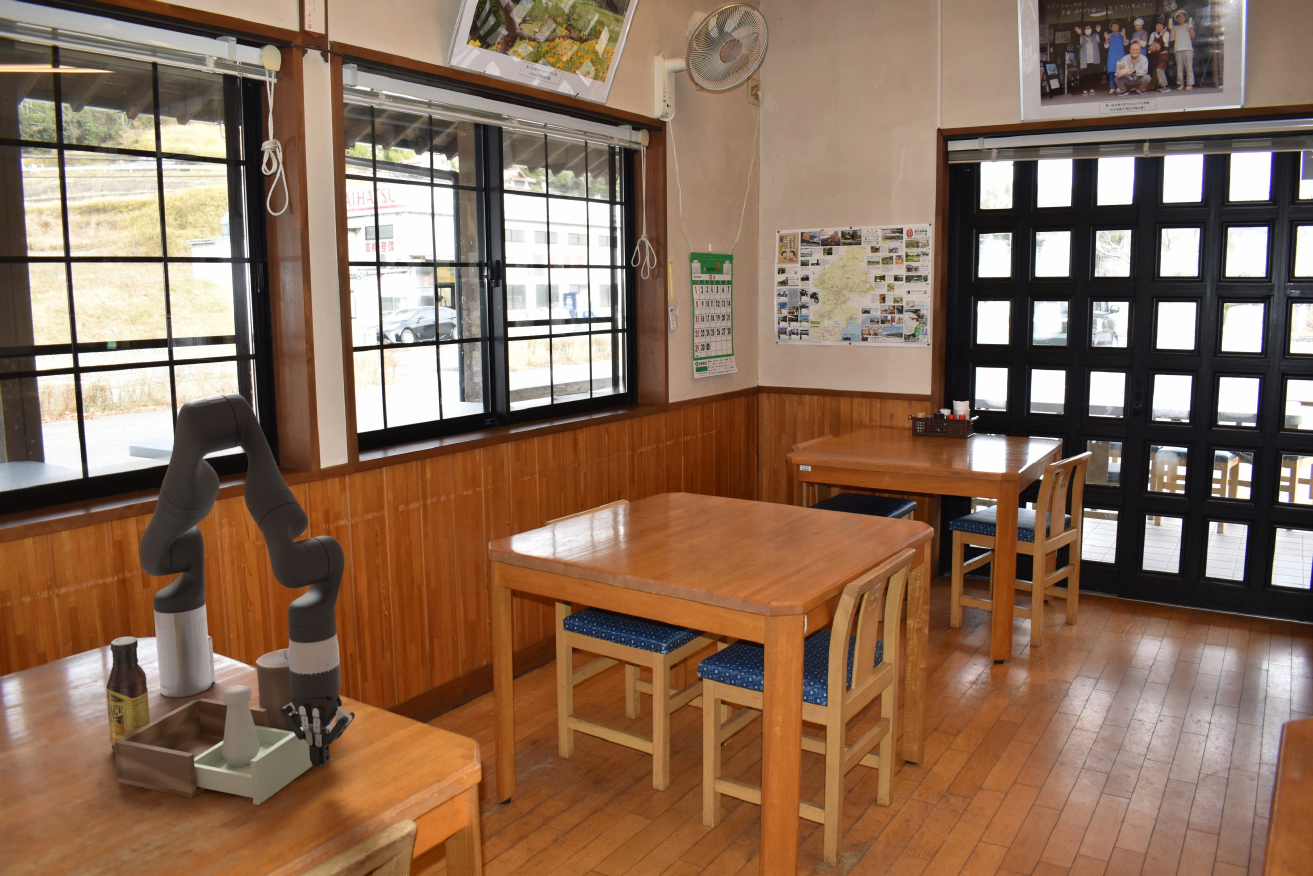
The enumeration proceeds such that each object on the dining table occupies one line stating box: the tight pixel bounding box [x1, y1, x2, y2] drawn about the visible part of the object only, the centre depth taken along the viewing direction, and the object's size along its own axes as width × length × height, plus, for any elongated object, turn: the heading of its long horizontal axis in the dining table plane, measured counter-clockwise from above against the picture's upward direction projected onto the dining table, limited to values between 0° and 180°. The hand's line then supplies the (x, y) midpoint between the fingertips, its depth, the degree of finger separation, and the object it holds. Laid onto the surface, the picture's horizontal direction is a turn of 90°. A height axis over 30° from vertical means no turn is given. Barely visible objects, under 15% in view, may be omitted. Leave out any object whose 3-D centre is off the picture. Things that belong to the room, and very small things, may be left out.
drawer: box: [194, 725, 313, 806], centre depth 161 cm, size 17×15×7 cm
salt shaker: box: [222, 684, 260, 768], centre depth 161 cm, size 6×6×13 cm
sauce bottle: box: [105, 636, 151, 753], centre depth 170 cm, size 7×6×20 cm
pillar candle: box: [255, 647, 301, 732], centre depth 178 cm, size 10×10×15 cm
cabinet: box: [114, 697, 269, 799], centre depth 165 cm, size 18×15×7 cm
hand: (320, 764), depth 157 cm, fingers closed
